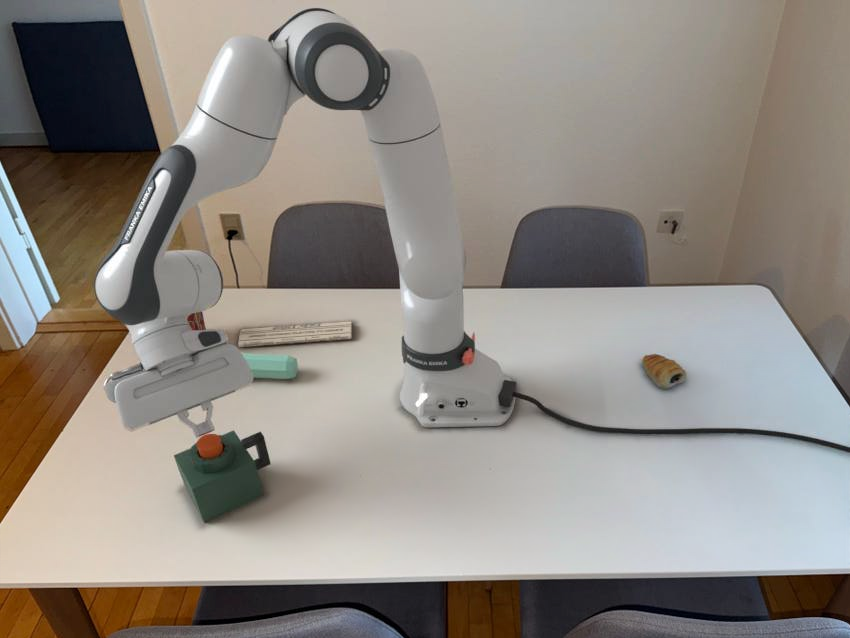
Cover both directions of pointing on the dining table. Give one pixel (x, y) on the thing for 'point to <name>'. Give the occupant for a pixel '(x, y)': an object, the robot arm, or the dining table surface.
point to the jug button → (209, 446)
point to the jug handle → (258, 449)
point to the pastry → (663, 370)
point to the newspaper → (295, 334)
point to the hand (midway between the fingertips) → (205, 434)
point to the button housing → (219, 478)
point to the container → (272, 365)
